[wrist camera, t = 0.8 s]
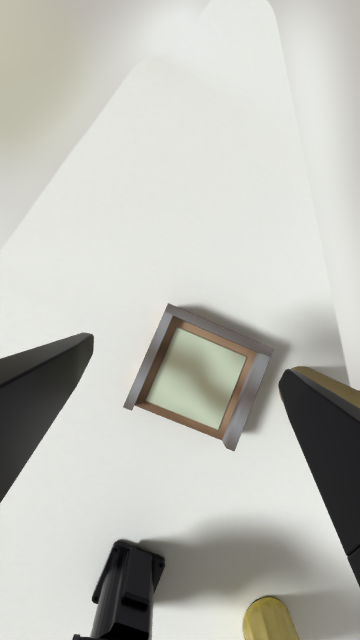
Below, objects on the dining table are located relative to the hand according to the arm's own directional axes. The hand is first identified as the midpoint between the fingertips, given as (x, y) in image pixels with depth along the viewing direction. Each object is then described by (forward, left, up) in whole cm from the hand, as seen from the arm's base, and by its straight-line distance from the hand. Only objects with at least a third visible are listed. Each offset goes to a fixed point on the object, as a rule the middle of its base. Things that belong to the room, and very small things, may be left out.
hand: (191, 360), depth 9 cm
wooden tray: (-2, -4, -16) cm, 17 cm away
